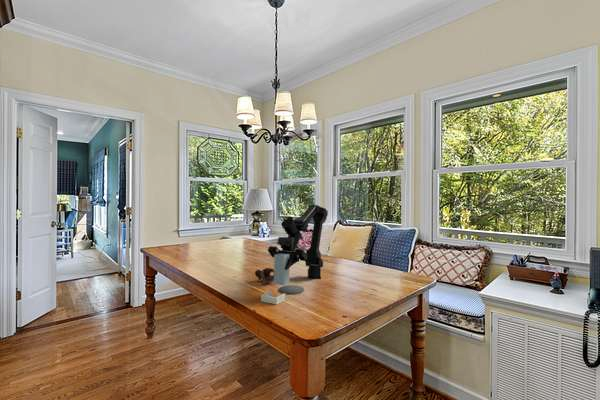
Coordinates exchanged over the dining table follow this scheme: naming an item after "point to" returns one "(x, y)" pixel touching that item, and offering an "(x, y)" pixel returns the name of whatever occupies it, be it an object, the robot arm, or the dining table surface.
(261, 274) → the pottery mug
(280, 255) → the painted block
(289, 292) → the rubber mat
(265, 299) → the acrylic channel
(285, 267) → the robot arm
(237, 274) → the dining table surface
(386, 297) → the dining table surface
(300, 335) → the dining table surface
